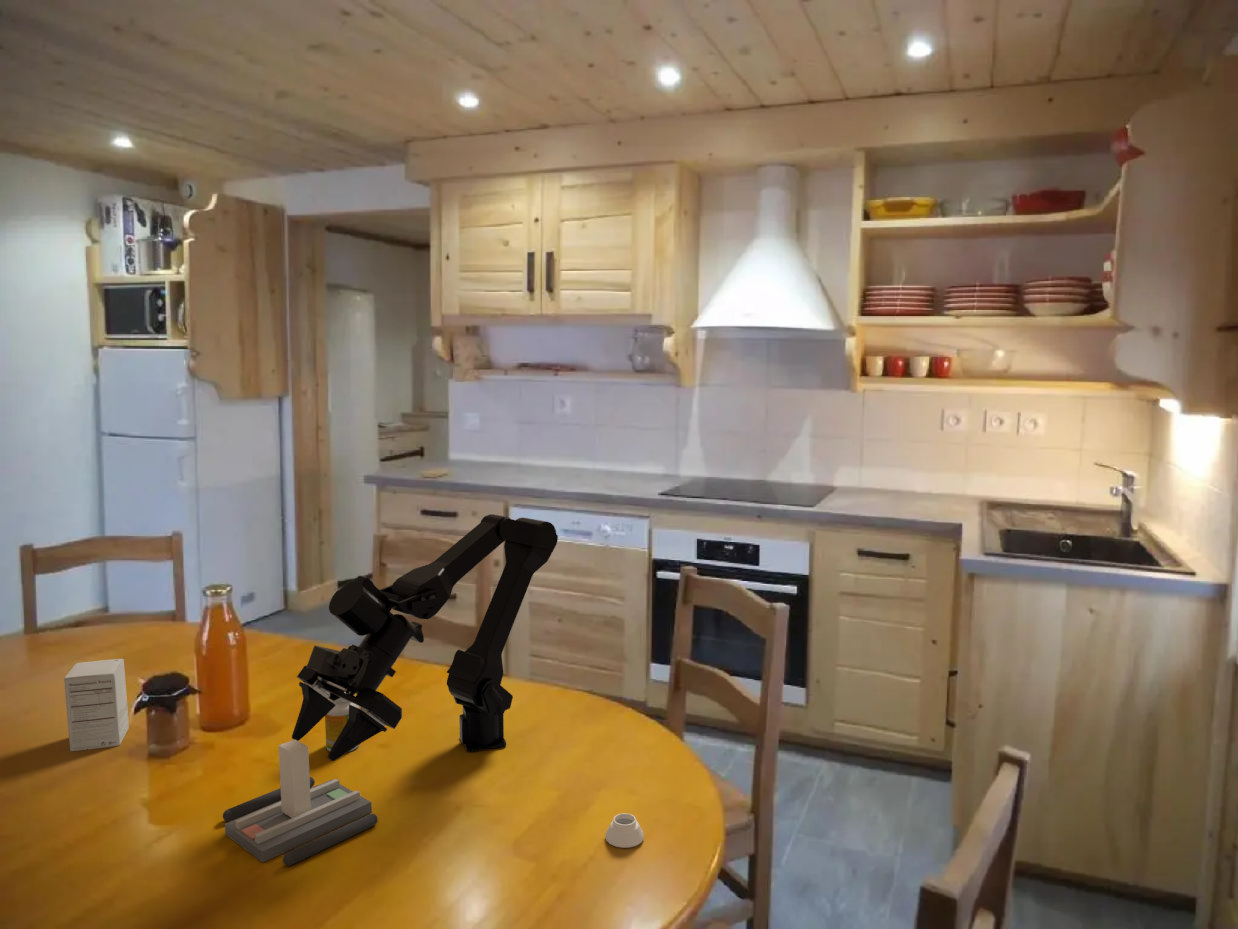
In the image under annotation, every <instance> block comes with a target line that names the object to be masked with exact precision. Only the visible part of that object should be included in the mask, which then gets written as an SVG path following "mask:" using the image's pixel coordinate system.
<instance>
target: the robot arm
mask: <svg viewBox="0 0 1238 929" xmlns="http://www.w3.org/2000/svg"><path fill="white" fill-rule="evenodd" d="M558 536H559V535H558V534H557V530H556V527H555V525H554V524H552V522H549V521H546V520H541V519H540V520H539V519H534V518H530V517H529V518H528V517H519V518H517V519H513V518H510V517H508V516H505V515H499V514H493V513H491V514H487V515H484V516H483V517H482V518H481V520H480V522H479V523H478V524H477V525H475V527H474V528H472V529H471V530H470V531H469V532H468V533H466V534H465V535H464V536H463V537H461V538H459V540H458V541H457V542H455V543H454V544H453V545H452V546H450V547H449V548H448V549H447V550H446V551H445V552H444V553H442V554H441V555H440V556H439V557H438V558H437V559H435V560H433V561H432V562H430V563H428V564H425V565H422V566H418V567H416V568H413V569H412V570H409V571H408V572H407V573H405V574H403V575H401V576H399V577H398V578H397V579H395V581H394V582H393V583H392V584H391V585H388V586H386V587H383V588H380V589H379V588H378V587H377V586H376V585H375V583H374V582H373V581H372V580H371V579H370V578H369V577H367V576H365V575H364V576H363V575H358V576H357V577H356V579H355V580H354V581H352V582H348V583H347V584H345V585H343V586H342V587H341V588H340V589H338V590H336V591H335V592H334V594H332V597H331V599H330V601H329V604H328V610H329V613H330V614H331V615H333V616H334V617H335V618H336V619H338V620H339V621H340V622H341V623H342V624H343V625H344V626H346V627H347V628H348V629H350V630H351V631H352V632H353V633H354V634H356V635H357V636H360V637H362V636H364V638H363V639H362V641H361V642H360V643H359V644H358V646H357V645H355V644H352V645H349V646H348V648H346V647H343V648H342V649H341V650H337V649H334V648H329V647H325V646H320V645H313V648H312V651H311V654H310V656H309V660H308V662H307V664H306V665H304V666H303V667H302V669H301V670H300V671H299V673H298V674H297V676H296V677H297V679H298V680H300V681H299V683H298V686H299V687H300V688H301V693H302V702H301V706H300V710H299V713H298V716H297V719H296V723H295V725H294V729H293V730H292V734H291V739H292V740H297V741H299V742H300V740H301V739H302V738H304V737H305V736H306V735H307V734H308V733H309V732H311V730H313V728H314V727H315V726H316V725H317V724H318V723H319V722H320V721H322V719H324V718H325V715H327V714H328V713H329V712H330V711H331V710H332V709H333V708H334V707H335V706H336V705H335V704H334V703H332V702H331V701H330V700H329V699H331V700H333V701H335V700H337V699H339V698H340V697H341V698H343V699H345V700H347V701H349V702H352V703H354V704H356V705H358V706H359V708H356V707H354V706H352V705H350V704H349V718H348V721H347V723H346V725H345V726H344V728H343V730H342V731H341V733H340V735H339V736H338V738H337V740H336V741H335V743H334V745H333V747H332V748H331V750H330V751H328V752H329V753H328V755H327V759H329V760H330V761H331V762H334V761H336V760H338V759H339V758H341V757H343V755H345V754H347V753H348V751H349V752H351V751H350V750H351V749H353V748H354V747H356V746H357V745H359V744H362V743H364V742H366V741H368V740H369V739H371V738H373V737H374V736H376V735H378V734H380V733H381V732H384V733H386V732H387V731H388V728H391V729H393V730H395V729H396V728H397V726H398V725H399V723H400V721H401V720H402V719H403V708H402V707H401V706H399V705H398V704H397V703H396V702H395V701H393V700H391V698H389V697H388V696H386V694H384V693H383V692H380V691H378V689H379V687H380V686H381V684H382V683H383V681H384V680H385V678H386V677H389V678H393V677H394V676H395V674H396V673H397V670H395V669H394V668H393V666H394V665H395V663H396V662H397V661H398V659H399V658H400V656H401V654H402V652H404V650H405V648H406V647H407V645H408V644H409V643H410V640H412V641H415V642H417V643H421V644H423V643H424V642H425V638H424V636H425V635H424V633H423V624H422V623H419V622H416V621H410V620H409V619H407V618H406V617H405V616H404V615H407V616H411V617H414V618H417V619H421V620H429V619H432V618H433V617H435V616H436V615H437V614H438V613H439V611H441V609H442V608H443V607H444V606H445V605H446V603H447V602H448V601H449V600H450V598H451V595H452V592H453V588H454V587H455V585H456V584H457V583H458V582H459V581H461V580H462V579H463V578H464V577H465V576H466V575H467V574H469V572H471V571H472V570H473V569H475V567H477V565H479V564H480V563H481V562H482V561H483V560H485V558H487V557H488V556H489V555H490V554H491V553H492V552H494V550H496V549H497V548H498V547H499V546H501V544H503V543H504V546H503V547H504V548H503V550H504V556H505V565H504V568H503V570H502V573H501V575H500V578H499V580H498V583H497V586H495V587H496V588H495V590H494V592H493V595H492V597H491V600H490V602H489V604H488V607H487V610H486V612H485V614H484V617H483V620H482V622H481V624H480V627H479V629H478V631H477V634H476V637H475V639H474V641H473V643H472V645H470V646H469V647H468V648H467V649H466V650H461V649H457V650H456V652H454V655H453V660H452V663H451V664H450V666H449V668H448V669H447V671H446V673H447V674H448V675H447V679H446V686H447V688H448V692H449V693H450V695H451V696H452V698H453V699H454V702H455V704H456V705H460V706H462V713H461V714H459V716H458V718H459V739H460V741H461V744H462V745H464V748H465V750H466V752H469V753H470V752H471V753H472V752H477V751H478V752H479V751H482V750H490V749H496V748H503V747H506V746H507V741H506V739H505V737H504V736H505V735H504V734H505V732H504V731H505V729H504V727H505V726H504V725H505V724H504V714H505V712H506V711H507V710H509V709H511V707H512V702H513V698H514V697H513V696H514V695H513V694H511V693H510V692H509V691H508V690H507V689H505V688H504V687H503V686H502V685H501V684H502V680H503V676H504V667H503V657H502V656H503V655H502V654H503V651H504V649H505V646H506V644H507V642H508V639H509V635H510V634H511V631H512V629H513V626H514V624H515V621H516V618H517V616H518V613H519V611H520V608H521V606H522V603H523V601H524V599H525V596H526V592H527V591H528V588H529V585H530V583H531V581H532V578H533V575H534V574H535V573H536V572H537V571H539V569H540V568H542V567H543V566H544V565H545V564H546V563H548V561H549V559H550V557H551V555H552V554H553V552H554V549H555V548H556V546H557V544H558V540H559V537H558ZM392 610H393V611H396V612H398V613H395V614H393V613H392V612H391V611H392ZM399 613H402V614H404V615H402V614H399ZM344 692H346V693H344ZM386 726H387V727H388V728H387V727H386ZM359 746H360V745H359Z"/></svg>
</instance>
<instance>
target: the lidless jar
mask: <svg viewBox="0 0 1238 929" xmlns="http://www.w3.org/2000/svg"><path fill="white" fill-rule="evenodd" d="M644 835H645V834H644V831H643V829H642V828H641V826H640V823H639V822H638V821H637V818H636V817H635V815H633V814H631V813H624V812H622V813H618V814H616V815H614V816H613V820H612V821H611V823H610V824H609V826H608V828H607V829H606V832H605V840H606V842H608V844H609V845H612V846H614V847H616V848H628V849H629V848H634V847H637V846H638V845H640V844H641V843H643V840H644V837H645V836H644Z"/></svg>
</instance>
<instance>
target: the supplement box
mask: <svg viewBox="0 0 1238 929" xmlns="http://www.w3.org/2000/svg"><path fill="white" fill-rule="evenodd" d="M63 682H64V693H65V694H64V695H65V705H66V706H65V707H66V708H65V709H66V717H67V720H66V721H67V729H68V739H69V741H68V742H69V751H70V752H77V751H87V749H88V751H89V750H94V749H95V750H96V749H103V748H113V747H118V746H121V744H122V741H123V740H124V738H125V736H126V734H127V732H128V730H129V728H130V723H129V712H128V711H129V710H128V698H127V683H126V672H125V659H124V658H113V659H103V660H95V661H94V660H93V661H83V662H76V663H75V664H74V665H73V667H72V668H71V669H70V670H69V672H68V673H67V674H66V675H65V677H64V678H63Z"/></svg>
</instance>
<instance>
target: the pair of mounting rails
mask: <svg viewBox="0 0 1238 929" xmlns="http://www.w3.org/2000/svg"><path fill="white" fill-rule="evenodd" d="M315 782H316V781H315V779H314V777H313V776H310V788H313V787H314V786H315ZM279 801H281V787H280V788H277V789H275V790H272V791H270V792H267V793H264V794H262V795H260V796H258V797H255V798H252V799H249V800H247V801H245V802H242V803H240V804H237V805H235V806H233V807H229V808H228V809H225V810H224V811H223V813H222V819H223V820H224V821H226V822H230V821H233V820H235V819H238V818H240V817H243V816H245V815H247V814H250V813H252V812H255V811H257V810H259V809H262V808H264V807H267V806H269V805H272V804H274V803H276V802H279ZM378 820H379V818H378V815H376V814H375V813H369V814H367V815H364V816H362V817H360V818H358V819H356V820H354V821H351V822H349V823H347V824H345V825H343V826H341V827H338V828H336V829H334V830H332V831H330V832H328V833H326V834H323V835H321V836H319V837H317V838H315V839H313V840H310V841H308V842H306V843H304V844H302V845H300V846H298V847H295V848H293V849H291V850H289V851H287V852H285V854H284V855H283V857H282V862H283V864H284V865H285V866H288V867H289V866H292V865H294V864H296V863H298V862H301V861H303V860H306V859H308V858H309V857H311V856H313V855H315V854H317V853H320V852H322V851H324V850H326V849H328V848H330V847H332V846H334V845H337V844H339V843H340V842H342V841H344V840H347V839H349V838H351V837H353V836H355V835H357V834H359V833H362V832H363V831H365V830H368V829H370V828H371V827H374V826H376V824H378Z"/></svg>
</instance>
